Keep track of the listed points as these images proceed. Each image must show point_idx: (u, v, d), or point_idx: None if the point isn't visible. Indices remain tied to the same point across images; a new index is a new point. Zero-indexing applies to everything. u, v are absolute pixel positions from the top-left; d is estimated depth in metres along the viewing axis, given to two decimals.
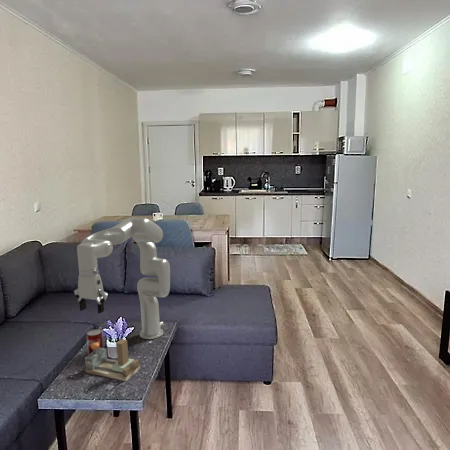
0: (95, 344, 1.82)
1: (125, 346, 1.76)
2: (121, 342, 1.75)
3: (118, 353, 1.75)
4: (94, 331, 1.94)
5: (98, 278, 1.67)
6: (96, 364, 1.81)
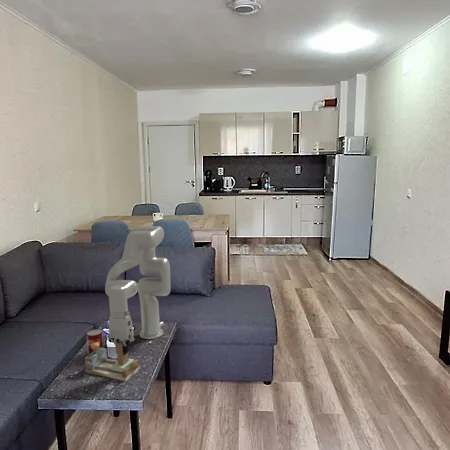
0: (95, 344, 1.82)
1: None
2: (121, 342, 1.75)
3: (118, 353, 1.75)
4: (94, 331, 1.94)
5: (129, 319, 1.73)
6: (96, 364, 1.81)
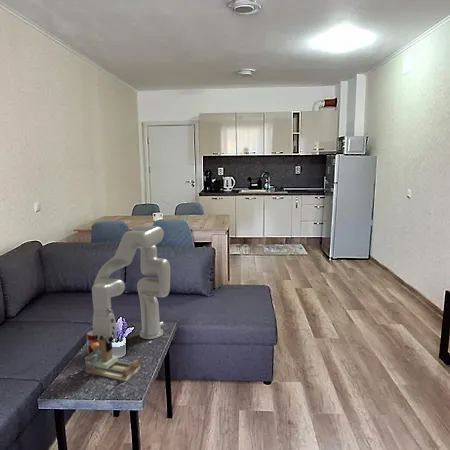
0: (95, 344, 1.82)
1: None
2: (104, 339, 1.79)
3: (102, 350, 1.78)
4: None
5: (112, 317, 1.76)
6: None
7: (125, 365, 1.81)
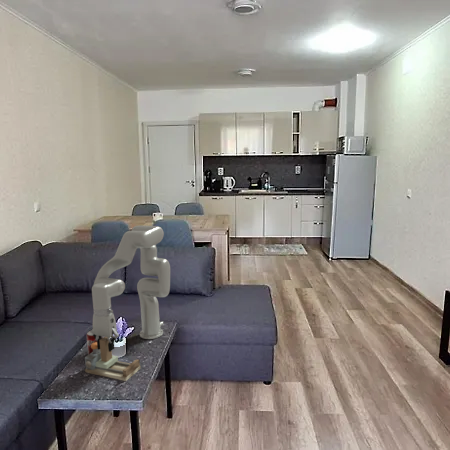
0: (95, 344, 1.82)
1: None
2: (104, 339, 1.79)
3: (101, 350, 1.78)
4: None
5: (112, 317, 1.76)
6: None
7: (125, 365, 1.81)
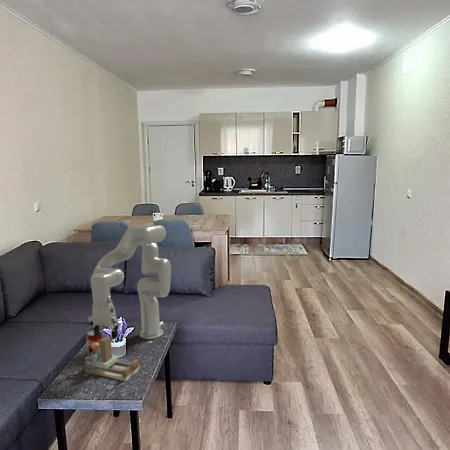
0: (95, 344, 1.82)
1: (109, 343, 1.80)
2: (104, 339, 1.79)
3: (101, 350, 1.78)
4: None
5: (111, 306, 1.76)
6: None
7: (125, 365, 1.81)
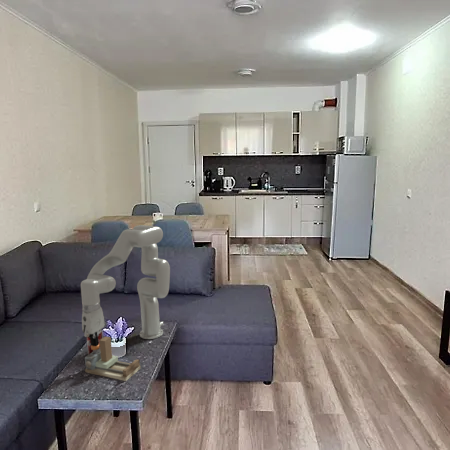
0: None
1: (109, 343, 1.80)
2: (104, 339, 1.79)
3: (101, 350, 1.78)
4: None
5: (85, 315, 1.75)
6: None
7: (125, 365, 1.81)
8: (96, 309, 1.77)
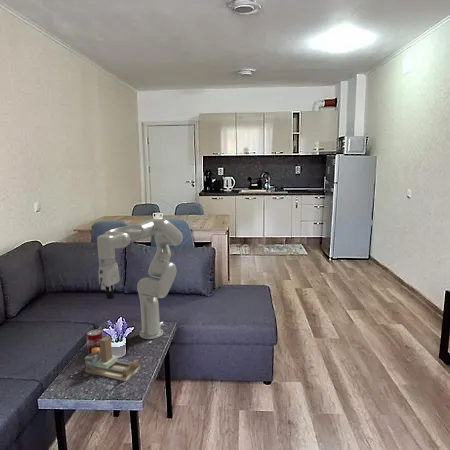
0: (95, 349, 1.82)
1: (109, 343, 1.80)
2: (104, 339, 1.79)
3: (101, 350, 1.78)
4: (94, 331, 1.94)
5: (101, 268, 1.83)
6: None
7: (125, 365, 1.81)
8: (112, 263, 1.85)
